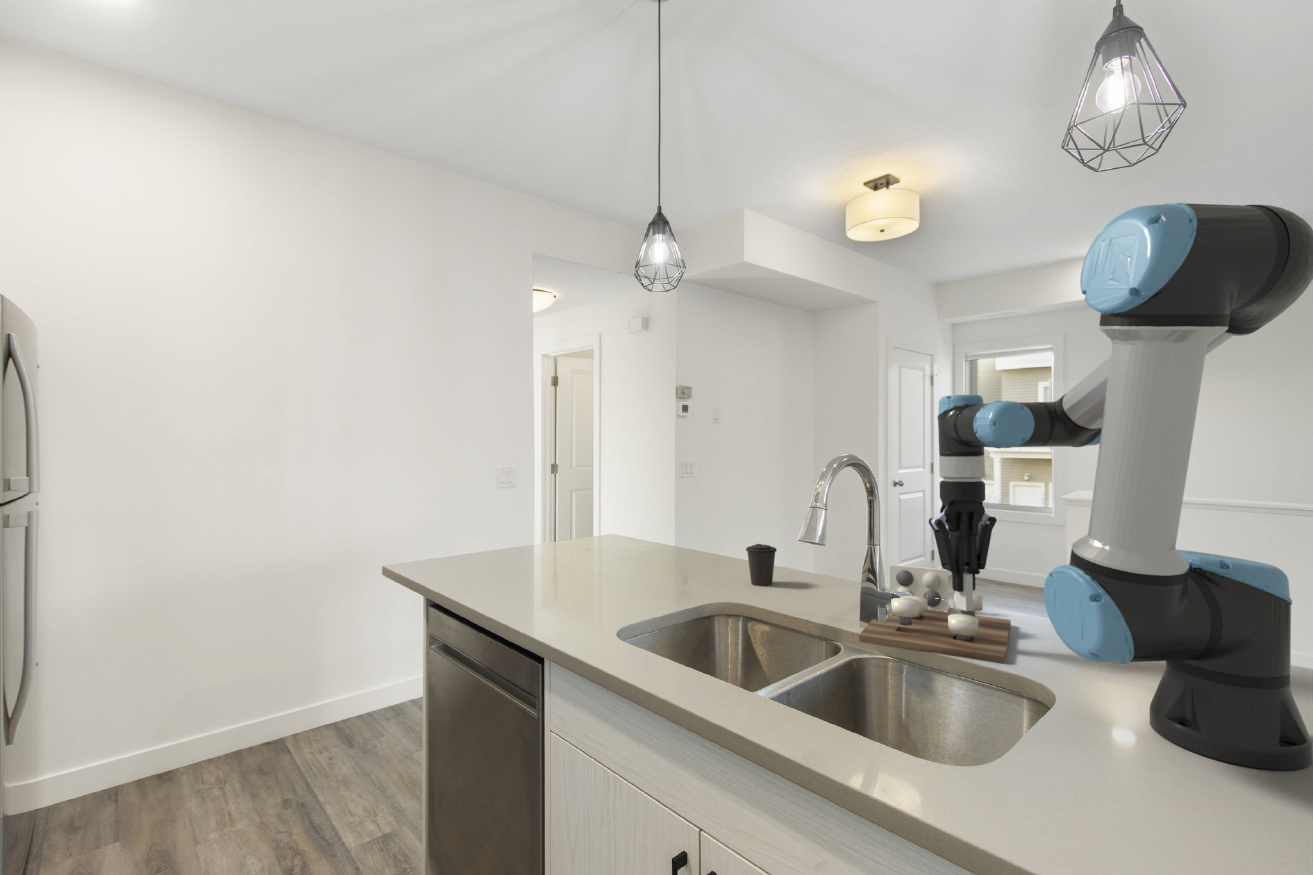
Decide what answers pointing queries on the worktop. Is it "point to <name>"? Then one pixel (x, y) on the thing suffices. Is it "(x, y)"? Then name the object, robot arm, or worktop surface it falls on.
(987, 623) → the board
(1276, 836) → the worktop surface
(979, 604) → the button
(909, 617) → the button
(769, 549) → the coffee cup
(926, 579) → the card
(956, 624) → the button
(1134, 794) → the worktop surface
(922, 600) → the button
